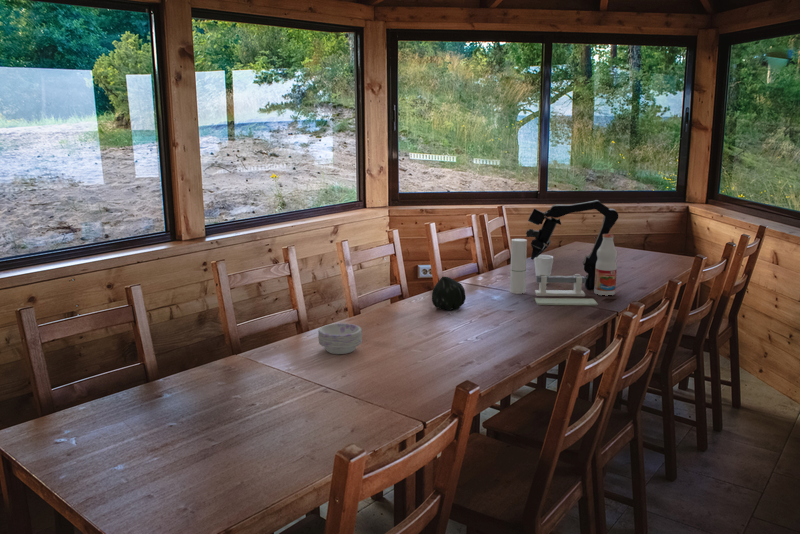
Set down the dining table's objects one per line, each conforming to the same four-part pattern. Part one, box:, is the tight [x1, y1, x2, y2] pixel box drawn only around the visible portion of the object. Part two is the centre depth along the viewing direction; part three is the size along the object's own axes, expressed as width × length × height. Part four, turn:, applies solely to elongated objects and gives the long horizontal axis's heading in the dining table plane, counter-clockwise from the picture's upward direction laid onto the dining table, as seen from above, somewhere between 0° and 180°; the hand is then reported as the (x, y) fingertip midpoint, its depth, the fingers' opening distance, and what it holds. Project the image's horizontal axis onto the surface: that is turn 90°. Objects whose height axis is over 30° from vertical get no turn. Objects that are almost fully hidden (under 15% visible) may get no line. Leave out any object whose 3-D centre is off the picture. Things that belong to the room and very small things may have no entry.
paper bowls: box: [317, 322, 363, 355], centre depth 222 cm, size 15×15×8 cm
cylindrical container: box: [509, 238, 528, 295], centre depth 295 cm, size 7×7×25 cm
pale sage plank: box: [534, 297, 599, 306], centre depth 279 cm, size 26×8×1 cm, turn 87°
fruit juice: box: [593, 233, 618, 297], centre depth 291 cm, size 9×9×28 cm
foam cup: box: [533, 254, 554, 277], centre depth 315 cm, size 10×9×13 cm
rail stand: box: [534, 273, 586, 297], centre depth 292 cm, size 22×6×9 cm, turn 87°
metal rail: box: [535, 275, 586, 284], centre depth 292 cm, size 22×3×2 cm, turn 87°
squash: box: [431, 276, 467, 311], centre depth 272 cm, size 14×15×15 cm
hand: (533, 258), depth 307 cm, fingers open, 9 cm apart
